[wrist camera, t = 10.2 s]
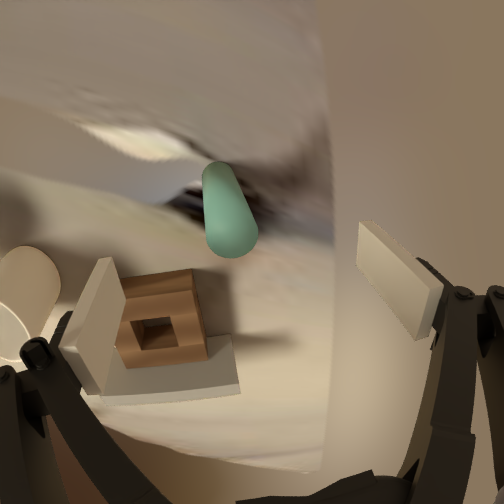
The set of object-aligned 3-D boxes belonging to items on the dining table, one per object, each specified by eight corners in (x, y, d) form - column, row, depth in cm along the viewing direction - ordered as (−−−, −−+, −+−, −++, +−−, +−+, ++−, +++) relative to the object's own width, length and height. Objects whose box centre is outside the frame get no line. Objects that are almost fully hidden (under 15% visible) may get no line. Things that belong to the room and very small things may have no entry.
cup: (75, 286, 33) (48, 348, 24) (20, 322, 34) (-7, 378, 25) (32, 230, 29) (-13, 281, 20) (-19, 276, 30) (-56, 326, 21)
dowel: (200, 164, 29) (202, 214, 18) (232, 159, 29) (256, 207, 18) (204, 194, 30) (209, 261, 19) (235, 189, 31) (259, 254, 19)
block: (104, 281, 33) (96, 302, 29) (191, 268, 34) (191, 290, 30) (130, 345, 38) (126, 368, 34) (206, 336, 39) (208, 360, 35)
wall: (109, 348, 37) (99, 396, 31) (230, 333, 39) (239, 383, 32) (114, 358, 38) (106, 406, 32) (232, 345, 40) (240, 394, 33)
